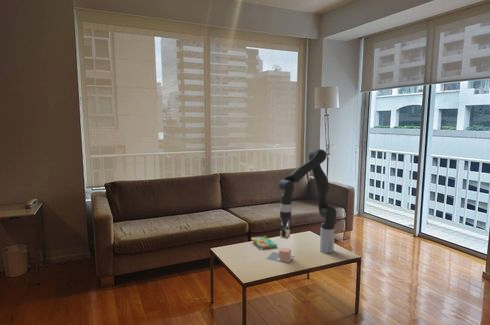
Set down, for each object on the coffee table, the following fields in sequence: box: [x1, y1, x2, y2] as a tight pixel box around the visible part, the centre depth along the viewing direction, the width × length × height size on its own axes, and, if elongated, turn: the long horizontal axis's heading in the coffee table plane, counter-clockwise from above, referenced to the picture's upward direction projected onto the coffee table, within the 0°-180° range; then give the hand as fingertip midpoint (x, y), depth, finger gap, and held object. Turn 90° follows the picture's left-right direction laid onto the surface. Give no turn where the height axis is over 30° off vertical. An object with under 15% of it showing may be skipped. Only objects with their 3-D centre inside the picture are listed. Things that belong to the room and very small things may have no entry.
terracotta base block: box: [278, 247, 292, 261], centre depth 216 cm, size 6×6×6 cm
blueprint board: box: [265, 251, 296, 265], centre depth 218 cm, size 16×13×2 cm
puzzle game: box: [250, 235, 278, 250], centre depth 243 cm, size 12×5×20 cm
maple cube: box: [279, 228, 291, 240], centre depth 215 cm, size 5×5×5 cm
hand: (285, 235), depth 215 cm, fingers closed on maple cube, 5 cm apart
